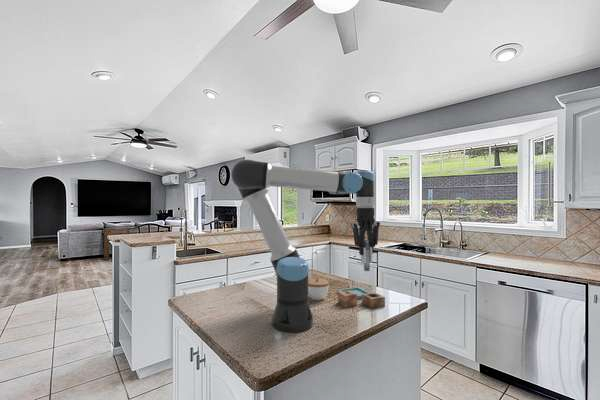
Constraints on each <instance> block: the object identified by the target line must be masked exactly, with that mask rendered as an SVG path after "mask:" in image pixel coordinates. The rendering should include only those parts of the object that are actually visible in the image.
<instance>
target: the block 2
mask: <svg viewBox="0 0 600 400" xmlns="http://www.w3.org/2000/svg"><path fill="white" fill-rule="evenodd" d="M361 304H363V305H365V306H366V307H368V308H369V309H377V308H382V307H385V306H386V297H385V296H384V295H381V294H379V293H377V292H370V293H366V294H362V299H361Z"/></svg>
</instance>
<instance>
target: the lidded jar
mask: <svg viewBox="0 0 600 400" xmlns="http://www.w3.org/2000/svg"><path fill="white" fill-rule="evenodd" d="M329 283H330V282H329V280H327V279H324V278H319V277H316V278H311V279H310V278H308V297H309V298H310V299H311V300H313V301H323V300H324V299H325V298H326V296H327V295H328V292H329V287H330V286H329Z"/></svg>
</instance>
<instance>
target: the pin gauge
mask: <svg viewBox="0 0 600 400" xmlns="http://www.w3.org/2000/svg"><path fill="white" fill-rule="evenodd" d="M364 247H365V248H366V263H363V271H364V272H370V270H371V269H370V268H371V265H370V264H371V262H370V260H369V240H368V239H365V240H364Z"/></svg>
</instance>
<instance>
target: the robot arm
mask: <svg viewBox="0 0 600 400" xmlns="http://www.w3.org/2000/svg"><path fill="white" fill-rule="evenodd" d="M231 180H232V182H233V184H234V185H235V186H236V187H237V189H238V191H239V194H240V195H241V198H242V200H243V201H246V202H247V203H248V204H249V206H250V209H251V211H252V214H253V215H254V218H255V220H256V222H257V225H258V227H259V229H260V231H261V233H262V236H263V238H264V241H265V243H266V245H267V247H268V249H269V251H270V253H271V256H270V260H269V261H270V262H271V265H272V267H273V270H274V272H275V274H276V304H275V307H274V310H273V313H272V317H271V325H272V327H273V328H274V329H276V330H278V331H280V332H281V331H282V332H284V333H299V332H300V333H301V332H303V331H307V330H309V329H311V328H312V327H313V325H314V317H313V313H312V310H311V308H310V304H309V295H308V280H309V272H310V268H309V262H308V261H307V260H306V259H305V258H301V257H300V255H299V252H298V251H297V248H296V247H295V246H292V245H291V242H290V240H289V239H288V237H287V234H286V232H285V230H284V228H283V227H284V226H282V222H281V220H280V219H279V216H278V214H277V212H276V209H275V208H274V205H273V203H272V201H271V198H270V196H269V190H270V188H269V187H275V188H277V187H278V188H287V189H288V188H289V189H298V190H309V191H310V190H311V191H321V192H323V191H324V192H328V193H329V195H330V194H331V195H349V194H350V195H351V194H353V195H354V194H355V204H356V205H355V206H356V207H357V208H356V211H355V212H356V220H355V222H353V223H350V225H351V228H352V232H353V241H354V246H355V247H358V249H359V250H358V254H359V255H360V263H362V264H364V263H366V248H365V247H364V240H366V239H365V237H366V236H367V240H369V260H370V263H373V255H374V252H375V251H374V248H375V247H376V246H377V245H378V243H379V242H378V241H379V228H380V226H381V222H380V221H376V219H375V207H374V206H375V191H374V190H375V189H374V188H375V186H374V185H375V184H374V183H375V180H374V173H373V171H371V170H359V171H355V172H354V171H353V172H351V171H350V172H341V171H340V172H339V171H330V170H321V169H320V170H319V169H308V168H298V167H290V166H289V167H286V166H277V165H275V166H274V165H271V164H270V163H269V162H265V161H258V160H253V159H242V160H239V161H238V162H236V163H235V164H234V165H233V167H232V169H231Z"/></svg>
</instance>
